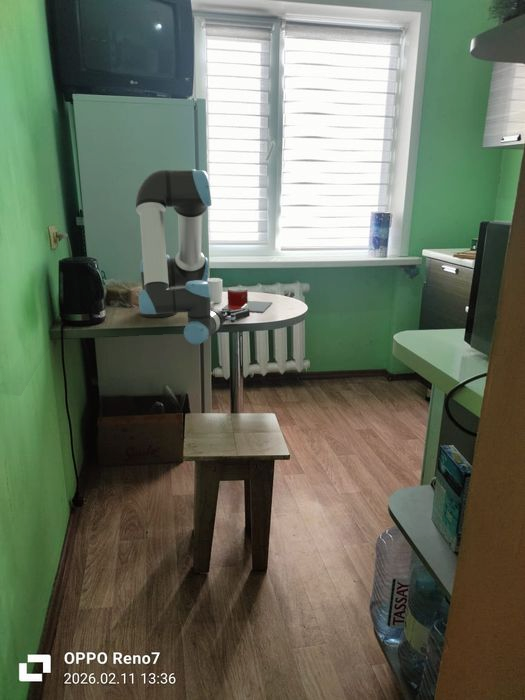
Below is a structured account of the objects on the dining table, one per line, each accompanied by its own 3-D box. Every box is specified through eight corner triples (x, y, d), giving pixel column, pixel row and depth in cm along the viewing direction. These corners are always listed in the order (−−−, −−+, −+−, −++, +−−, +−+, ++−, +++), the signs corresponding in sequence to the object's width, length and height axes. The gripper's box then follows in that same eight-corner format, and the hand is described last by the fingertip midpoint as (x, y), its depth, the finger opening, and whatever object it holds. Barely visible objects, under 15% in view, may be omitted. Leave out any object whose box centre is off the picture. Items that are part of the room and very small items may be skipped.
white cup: (211, 304, 216) (210, 282, 212) (201, 301, 222) (200, 279, 218) (226, 302, 220) (225, 279, 217) (216, 298, 226) (215, 277, 223)
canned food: (245, 318, 195) (245, 291, 192) (226, 317, 197) (225, 290, 193) (249, 313, 202) (249, 286, 199) (231, 312, 204) (230, 286, 200)
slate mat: (221, 310, 207) (221, 308, 207) (233, 301, 222) (233, 300, 222) (263, 312, 203) (263, 311, 203) (272, 303, 218) (272, 302, 217)
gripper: (177, 329, 173) (199, 313, 192) (245, 334, 167) (261, 317, 186) (175, 308, 170) (198, 294, 190) (245, 312, 164) (261, 298, 184)
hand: (229, 306), depth 188 cm, fingers open, 13 cm apart
